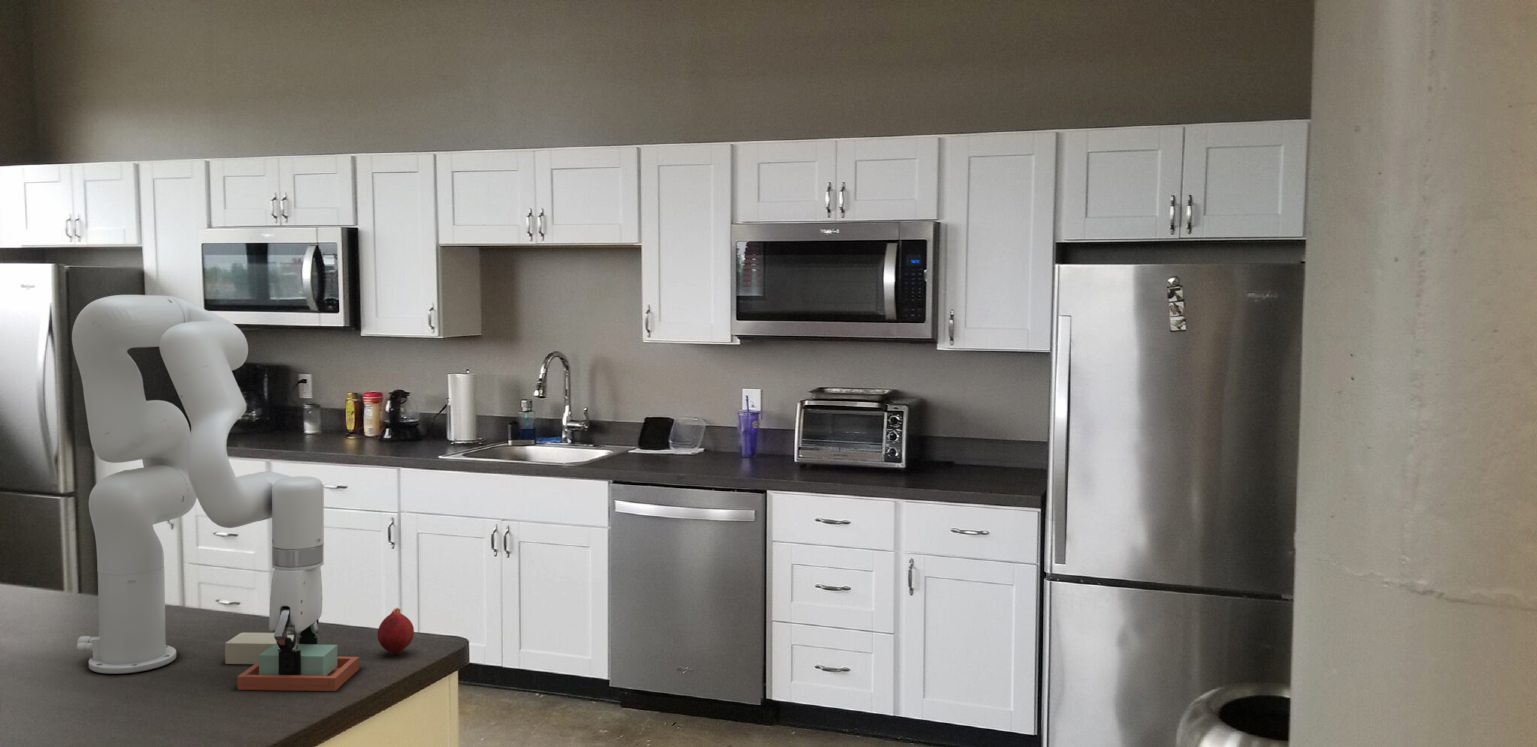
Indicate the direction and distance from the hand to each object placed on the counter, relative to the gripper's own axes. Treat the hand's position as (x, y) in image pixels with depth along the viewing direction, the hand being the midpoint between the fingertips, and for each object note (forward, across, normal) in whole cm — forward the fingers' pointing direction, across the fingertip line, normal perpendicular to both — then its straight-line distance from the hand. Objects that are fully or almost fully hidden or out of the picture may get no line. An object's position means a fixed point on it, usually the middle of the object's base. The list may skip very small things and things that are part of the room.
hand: (298, 667), depth 183 cm
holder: (+2, 0, 0) cm, 2 cm away
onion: (+2, -13, +11) cm, 17 cm away
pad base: (+1, 0, 0) cm, 1 cm away
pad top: (+2, -10, -10) cm, 14 cm away
